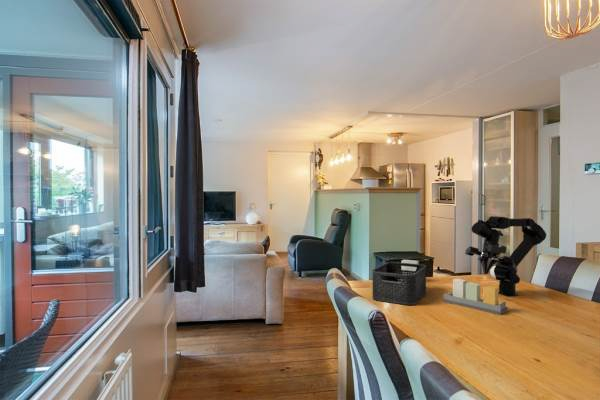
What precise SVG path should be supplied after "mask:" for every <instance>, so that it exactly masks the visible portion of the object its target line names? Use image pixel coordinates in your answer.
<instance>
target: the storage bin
mask: <svg viewBox="0 0 600 400" xmlns="http://www.w3.org/2000/svg"><path fill="white" fill-rule="evenodd" d="M401 266H408V267H417V268H416V271H408V270H401V269H400V268H399V267H401ZM426 267H427V265H425V264H422V263H421V264H420V263H419V264H410V263H401V262H398V261H389V262H385V263H383V264H381V265H380V266H377V267H376V268H374V269H372V271H371V272H372V273H371V274H372V275H371V276H372V280H371V281H372V284H371V286H372V299H373V300H375V301H378V302H384V303H390V304H391V303H393V304H397V305H406V306H408V305H409V306H410V305H411V306H412V305H415V304H417V303H418V302H419V301H420V300H421V298H422V297H423V296H424V295H425V294H426V293H427V277H426V276H427V268H426ZM403 272H404V273H403ZM405 272H407V273H405ZM413 273H415V274H413ZM403 274H404V275H403ZM405 274H407V275H405Z"/></svg>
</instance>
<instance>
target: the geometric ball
mask: <svg viewBox="0 0 600 400" xmlns="http://www.w3.org/2000/svg"><path fill="white" fill-rule="evenodd" d="M495 267H496V266H495V265H493V266H492V267H491V269H490V270H489V273H490V275H491V277H492V278H493V279H494V280H496V277H495V274H494V268H495Z"/></svg>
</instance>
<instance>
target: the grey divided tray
mask: <svg viewBox="0 0 600 400" xmlns="http://www.w3.org/2000/svg"><path fill="white" fill-rule="evenodd" d="M443 302H444V303H448V304H453V305H457V306H459V307H460V306H461V307H464V308H465V307H466V308H469V309H473V310H477V311H483V312H486V313H490V314H495V315H499V316H501V315H503V314H504V313H506V312H507V311H508V310H509V307H507V301H503V302H501V303H500V304H499V303H498V306H497V305H492V304H488V303H483V299H480V301H474V300H469V299H466V296H465V297H463V298H460V297H455V296H453V291H451V292H449V293H446V294H445V293H444V294H443Z"/></svg>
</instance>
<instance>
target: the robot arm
mask: <svg viewBox="0 0 600 400" xmlns="http://www.w3.org/2000/svg"><path fill="white" fill-rule="evenodd" d="M510 227H521V232H522V233H523V234H522V238H523V239H522V241H521V242H520V243H519V245H518V246H517V247H516V248H515V249H514V250H513V252H512V253H511V254H510V255H509V256H506V255H503V256H501V254H506V253H507V249H508V248H507V247H508V246H505V245H500V244H499V242H500V237H503V236H504V233H503V232H502V231H501V230H505V229H509V228H510ZM471 232H472V233H473V234H475V235H476V236H479V237H480V238H482V239H484V241H483V242H484V243H483V244H482V251H480V250H479V248H478V247H475V246H472V245H471V246H468V247H467V248H465V255H466V256H471V257H473V256H474V255H476V256H478V258H477V260H479V262H480V264H481V266H482V267H481V268H482V271H483V274H484V275H485V276H486V275H488V273H490V269H491V268H492V267H493V266H496V267H495V268H494V274H495V277H496V279H495V280H497V281H499V282H498V283H499V284H498V295H502V296H506V297H514V296H519V294H518V293H516V288H517V287H516V285H517V284H519V283H520V280H521V278H520V277H519V275H518V274H517V273H518V266H519V264H520V263H521V262H522V261H523V260H524V259H525V257H527V255H528V253H529V252H530V251H531V250H532V248H534V247H535V246H537V245H540V244H541V243H542V242H544V241H545V239H546V238H547V232H546V231H545V229H544V228H543V227H542V226H541V225H540V224H538V223H537V222H536V221H535V220H534V219H533V218H529V217H521V218H520V217H519V218H513V217H512V218H509V217H506V216H498V215H497V216H495V215H493V216H489V218H488V219H487V220H486V221H484V220H482V219H478V220H477V222H475V223H474V224H473V225H472V226H471ZM499 255H500V256H499Z"/></svg>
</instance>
